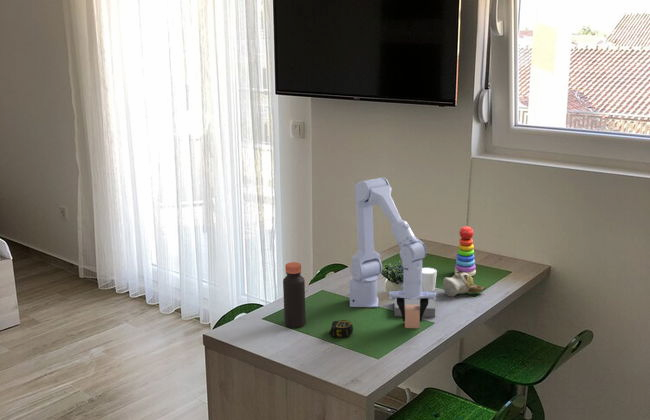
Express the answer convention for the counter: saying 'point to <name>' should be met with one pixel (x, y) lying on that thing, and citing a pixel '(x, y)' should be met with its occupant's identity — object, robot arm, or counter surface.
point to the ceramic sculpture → (460, 284)
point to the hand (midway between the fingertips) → (412, 320)
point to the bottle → (294, 296)
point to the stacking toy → (466, 252)
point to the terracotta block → (412, 316)
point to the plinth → (428, 311)
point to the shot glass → (428, 279)
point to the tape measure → (341, 328)
